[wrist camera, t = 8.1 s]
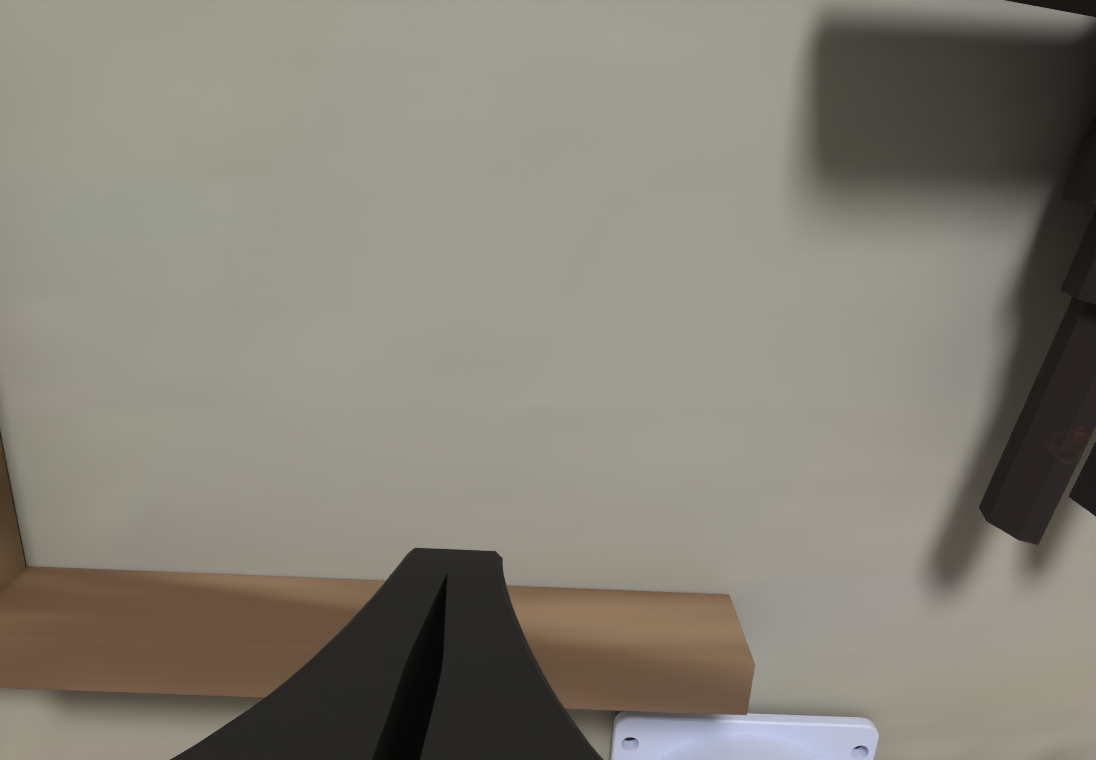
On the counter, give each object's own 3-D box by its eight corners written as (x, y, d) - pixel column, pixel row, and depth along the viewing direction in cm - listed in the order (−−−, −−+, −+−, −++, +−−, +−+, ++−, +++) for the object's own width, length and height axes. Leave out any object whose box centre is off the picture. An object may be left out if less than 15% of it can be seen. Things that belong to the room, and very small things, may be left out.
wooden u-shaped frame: (722, 640, 24) (746, 715, 21) (-177, 605, 23) (-277, 677, 20) (888, -468, 15) (967, -595, 12) (-530, -568, 15) (-787, -726, 12)
